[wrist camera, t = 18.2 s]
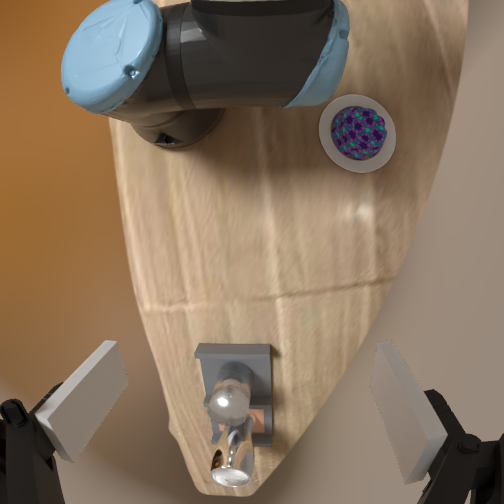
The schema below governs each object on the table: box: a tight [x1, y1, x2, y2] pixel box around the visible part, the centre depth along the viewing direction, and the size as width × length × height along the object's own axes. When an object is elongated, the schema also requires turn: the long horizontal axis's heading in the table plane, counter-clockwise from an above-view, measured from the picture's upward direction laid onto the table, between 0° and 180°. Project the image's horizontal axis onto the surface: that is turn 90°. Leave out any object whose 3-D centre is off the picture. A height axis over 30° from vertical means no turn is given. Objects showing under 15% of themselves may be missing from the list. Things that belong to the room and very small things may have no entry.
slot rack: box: [194, 343, 272, 447], centre depth 50 cm, size 23×12×3 cm, turn 3°
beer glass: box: [210, 411, 256, 488], centre depth 44 cm, size 7×7×15 cm
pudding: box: [319, 94, 396, 173], centre depth 38 cm, size 12×12×5 cm
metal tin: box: [208, 361, 253, 426], centre depth 45 cm, size 6×6×10 cm
